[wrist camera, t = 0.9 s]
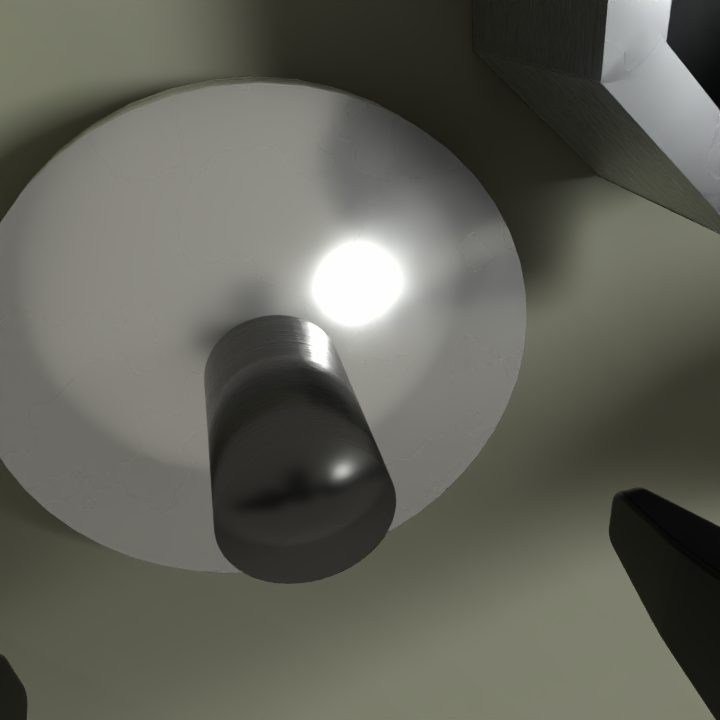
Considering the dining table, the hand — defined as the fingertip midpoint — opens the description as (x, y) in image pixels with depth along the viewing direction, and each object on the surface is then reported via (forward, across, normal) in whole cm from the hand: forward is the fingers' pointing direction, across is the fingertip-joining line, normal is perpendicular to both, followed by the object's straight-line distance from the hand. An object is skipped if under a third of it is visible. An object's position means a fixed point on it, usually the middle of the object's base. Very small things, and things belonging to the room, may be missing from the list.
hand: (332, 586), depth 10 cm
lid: (+8, 0, 0) cm, 8 cm away
